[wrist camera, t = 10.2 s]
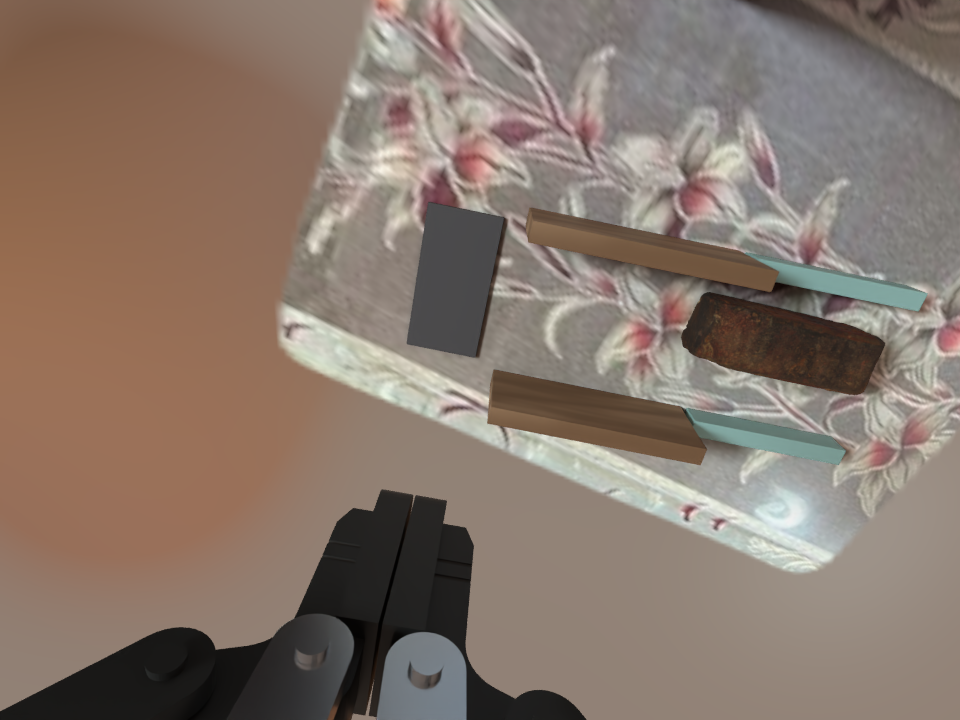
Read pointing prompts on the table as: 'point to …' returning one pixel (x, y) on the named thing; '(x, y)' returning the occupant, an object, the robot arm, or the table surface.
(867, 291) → the bay
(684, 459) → the trench
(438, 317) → the pad
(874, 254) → the table surface
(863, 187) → the table surface
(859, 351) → the brick
